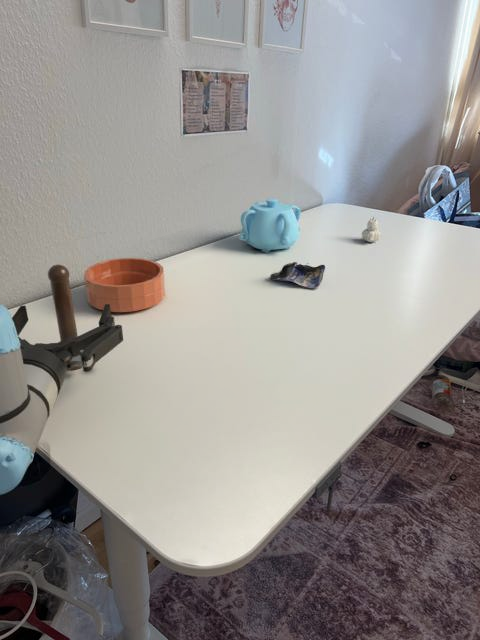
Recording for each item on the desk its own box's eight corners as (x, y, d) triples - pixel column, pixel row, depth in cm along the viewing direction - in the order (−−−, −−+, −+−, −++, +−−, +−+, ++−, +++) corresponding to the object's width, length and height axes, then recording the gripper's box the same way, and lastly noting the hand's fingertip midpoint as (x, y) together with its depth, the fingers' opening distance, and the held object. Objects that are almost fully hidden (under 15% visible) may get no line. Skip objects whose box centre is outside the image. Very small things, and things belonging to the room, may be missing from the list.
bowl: (75, 312, 99) (70, 283, 96) (104, 281, 114) (101, 255, 111) (153, 318, 98) (151, 289, 95) (172, 286, 112) (171, 260, 109)
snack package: (284, 295, 110) (330, 287, 113) (283, 267, 107) (330, 261, 111) (265, 283, 120) (307, 277, 124) (264, 258, 118) (306, 252, 122)
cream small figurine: (379, 240, 147) (383, 214, 144) (378, 246, 142) (382, 219, 138) (361, 238, 149) (365, 212, 145) (359, 244, 143) (363, 218, 140)
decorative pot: (286, 259, 131) (289, 209, 124) (232, 249, 136) (233, 201, 130) (304, 242, 144) (308, 197, 138) (255, 234, 150) (257, 190, 143)
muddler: (46, 369, 80) (27, 271, 72) (63, 349, 86) (47, 257, 78) (83, 372, 80) (67, 274, 72) (97, 352, 85) (85, 259, 77)
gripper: (-67, 413, 62) (-7, 333, 80) (130, 406, 64) (144, 330, 83) (-84, 364, 58) (-17, 292, 77) (125, 358, 60) (141, 290, 79)
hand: (67, 312), depth 80 cm, fingers open, 13 cm apart
